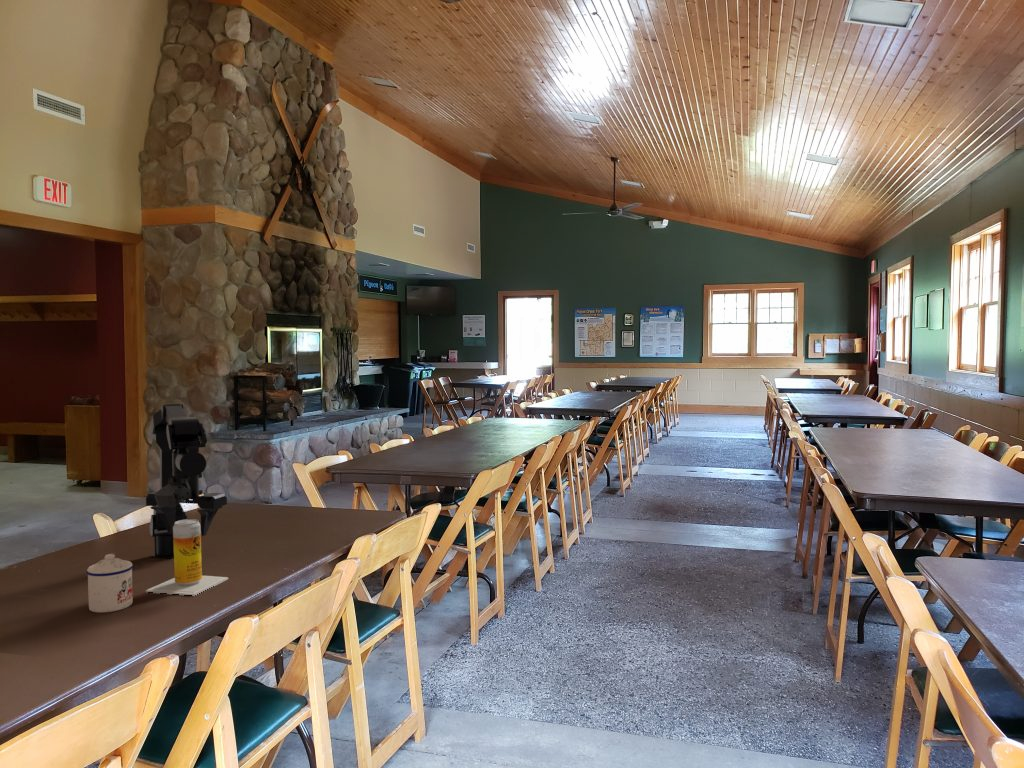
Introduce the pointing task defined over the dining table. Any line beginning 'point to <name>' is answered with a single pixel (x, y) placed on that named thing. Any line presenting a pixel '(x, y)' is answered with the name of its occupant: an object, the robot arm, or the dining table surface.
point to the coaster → (193, 590)
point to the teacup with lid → (110, 584)
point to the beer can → (187, 552)
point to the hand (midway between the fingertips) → (187, 534)
